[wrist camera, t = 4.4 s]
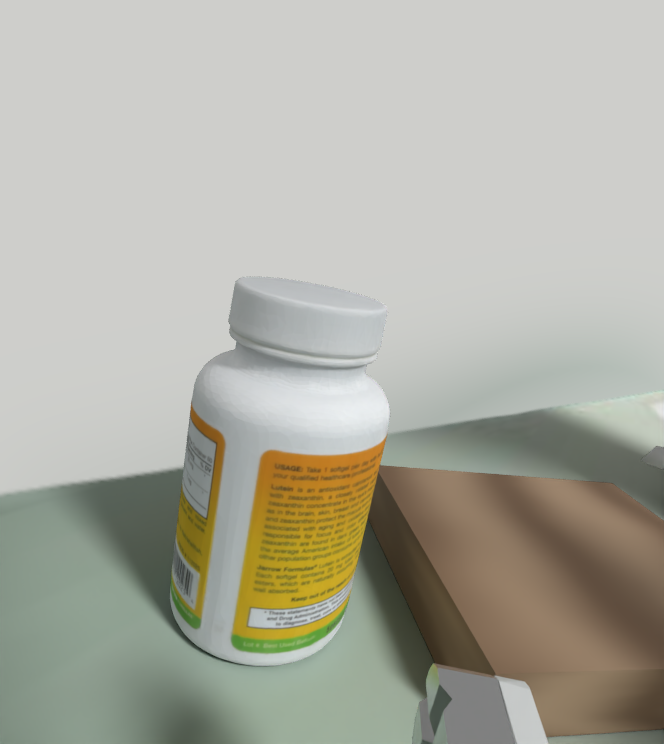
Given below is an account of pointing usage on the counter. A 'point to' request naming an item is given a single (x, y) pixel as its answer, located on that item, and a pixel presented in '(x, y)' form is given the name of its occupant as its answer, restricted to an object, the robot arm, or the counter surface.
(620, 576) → the walnut base
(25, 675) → the counter surface
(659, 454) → the bunny figurine
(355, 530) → the supplement bottle
